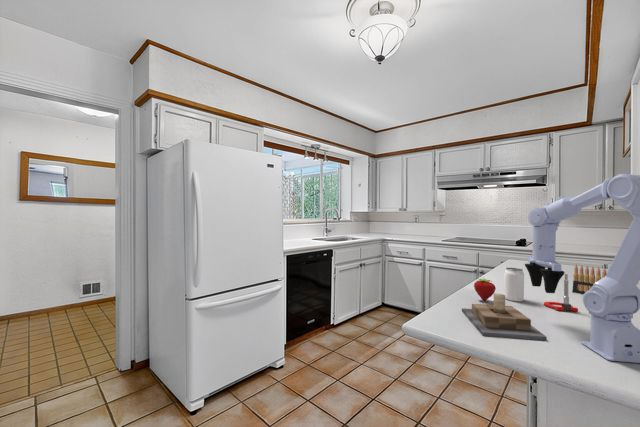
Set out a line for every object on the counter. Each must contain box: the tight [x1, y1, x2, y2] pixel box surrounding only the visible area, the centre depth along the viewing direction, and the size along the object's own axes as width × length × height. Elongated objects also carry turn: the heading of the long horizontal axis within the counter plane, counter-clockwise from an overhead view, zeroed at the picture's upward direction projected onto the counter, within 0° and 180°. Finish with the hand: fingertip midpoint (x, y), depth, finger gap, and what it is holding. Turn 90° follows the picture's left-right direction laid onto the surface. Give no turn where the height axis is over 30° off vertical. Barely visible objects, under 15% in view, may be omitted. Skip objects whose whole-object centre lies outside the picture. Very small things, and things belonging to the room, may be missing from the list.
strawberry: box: [473, 278, 497, 302], centre depth 114 cm, size 6×8×10 cm
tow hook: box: [543, 273, 579, 313], centre depth 107 cm, size 8×13×9 cm
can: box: [503, 267, 525, 303], centre depth 116 cm, size 6×6×12 cm
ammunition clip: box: [571, 264, 607, 295], centre depth 122 cm, size 11×2×12 cm, turn 37°
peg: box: [493, 293, 506, 314], centre depth 91 cm, size 3×3×8 cm
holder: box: [461, 303, 548, 341], centre depth 91 cm, size 20×16×4 cm
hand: (542, 289), depth 92 cm, fingers open, 7 cm apart
